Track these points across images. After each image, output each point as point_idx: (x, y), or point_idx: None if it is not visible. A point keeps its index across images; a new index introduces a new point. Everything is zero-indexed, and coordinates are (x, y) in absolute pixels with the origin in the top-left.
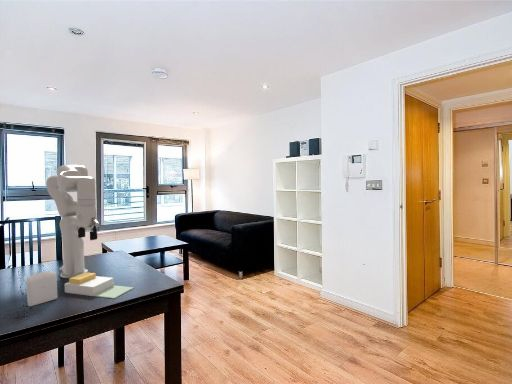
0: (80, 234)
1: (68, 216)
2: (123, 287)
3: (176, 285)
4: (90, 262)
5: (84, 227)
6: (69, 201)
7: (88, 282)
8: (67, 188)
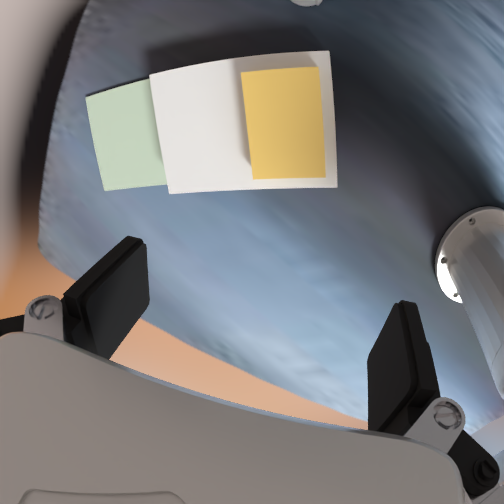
0: (394, 344)
1: None
2: (132, 178)
3: (42, 248)
4: None
5: (113, 362)
6: None
7: (223, 104)
8: None
